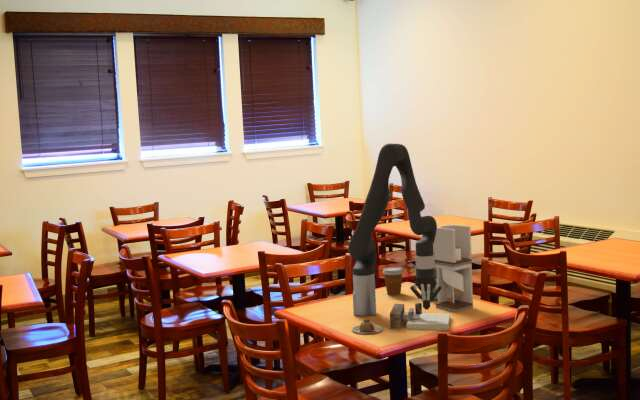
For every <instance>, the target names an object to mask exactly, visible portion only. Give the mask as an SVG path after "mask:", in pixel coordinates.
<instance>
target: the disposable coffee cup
mask: <svg viewBox="0 0 640 400" xmlns="http://www.w3.org/2000/svg"><path fill="white" fill-rule="evenodd" d="M382 273H383V275H384V278H383V279H384V282H385V290H386V295H387V296H393V297H394V296H399V295H401V293H402V284H403V283H402V279H403V273H404V270H403V268H402V267H399V266H388V267H385V268H383V270H382Z"/></svg>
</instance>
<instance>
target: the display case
mask: <svg viewBox="0 0 640 400" xmlns="http://www.w3.org/2000/svg"><path fill="white" fill-rule="evenodd" d="M471 228H472V227H471V226H468V225H460V224H459V225H458V224H451V223H450V224H445V225H440V226H437V231H436V236H435V240H434V244H433V249H434V260H435V267H436V268H437V284H438V285H441V286H442V288H441V290H440V291H439V293H438V300H437V302H436V303H435V308H436V309H438V308H439V309H440V310H444V311H448V312H453V313H459V312H462V311H467V310H471V309H473V308H474V296H473V294H474V292H473V291H474V290H473V268H472V267H473V264H472V263H473V262H472V234H471V232H472V231H471Z"/></svg>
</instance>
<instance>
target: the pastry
mask: <svg viewBox="0 0 640 400" xmlns="http://www.w3.org/2000/svg"><path fill="white" fill-rule="evenodd" d="M375 330H376V331H375ZM382 330H383V327H382V326H380V325H378V324H373V323H372V321H371V320H370V319H366V318H365V319H363V321H362V322H361V323H360V324H359V325H355V326H354V327H352V329H351V331H352V332H354V333H355V334H359V335H370V334H377V333H380V332H382Z"/></svg>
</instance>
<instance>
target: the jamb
mask: <svg viewBox="0 0 640 400" xmlns="http://www.w3.org/2000/svg"><path fill="white" fill-rule="evenodd" d="M403 312H406V311H405V303H394V304H393V306H392V308H391V311H390V312H389V326H390V327H389V329H390V330H401V329H402V326H403V323H404V321H405V319H403V316H402V314H403Z"/></svg>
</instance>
